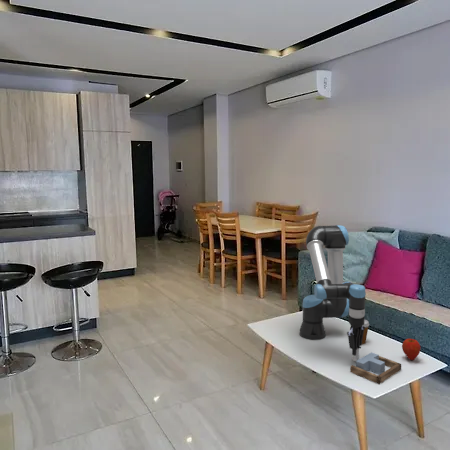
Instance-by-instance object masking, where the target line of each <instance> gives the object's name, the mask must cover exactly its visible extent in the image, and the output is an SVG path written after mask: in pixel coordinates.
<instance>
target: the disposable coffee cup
mask: <svg viewBox="0 0 450 450" xmlns="http://www.w3.org/2000/svg"><path fill="white" fill-rule="evenodd" d="M362 326H364V327H365V330H364V334H363V340H362V345H363V344H366V343H367V337H368V331H369V327H370V323H369V320H367V319H365V320H364V325H362Z"/></svg>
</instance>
